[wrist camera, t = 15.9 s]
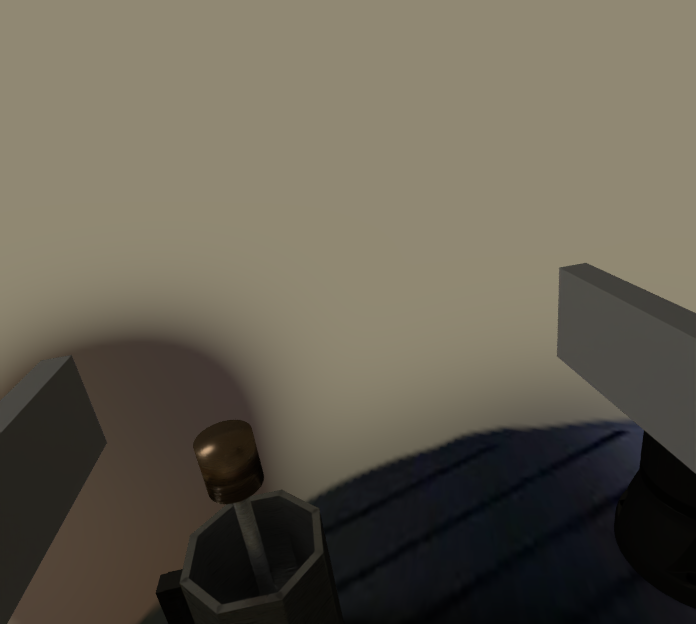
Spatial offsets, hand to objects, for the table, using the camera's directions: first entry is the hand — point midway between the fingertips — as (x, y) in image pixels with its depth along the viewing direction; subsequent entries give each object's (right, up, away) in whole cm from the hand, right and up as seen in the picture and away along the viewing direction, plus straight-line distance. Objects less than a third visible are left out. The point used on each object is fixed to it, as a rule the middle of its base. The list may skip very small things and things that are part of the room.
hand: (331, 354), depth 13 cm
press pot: (-6, -32, +30) cm, 44 cm away
